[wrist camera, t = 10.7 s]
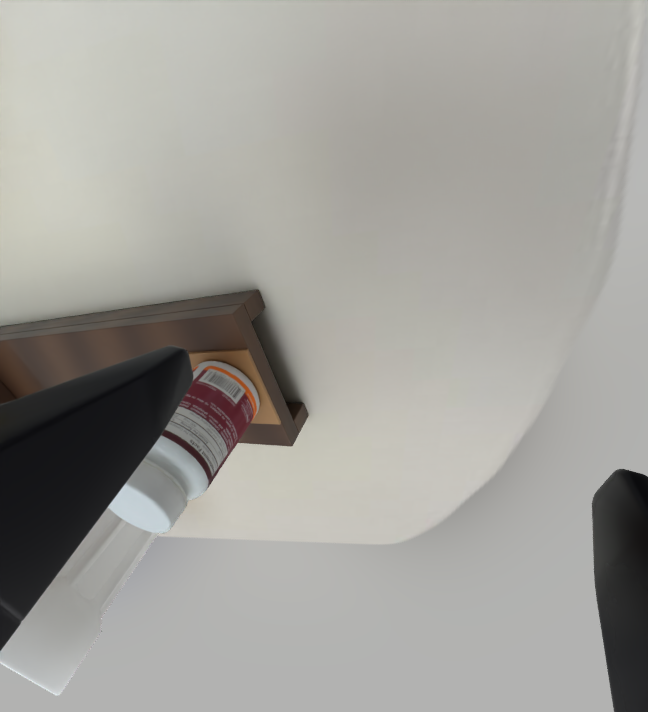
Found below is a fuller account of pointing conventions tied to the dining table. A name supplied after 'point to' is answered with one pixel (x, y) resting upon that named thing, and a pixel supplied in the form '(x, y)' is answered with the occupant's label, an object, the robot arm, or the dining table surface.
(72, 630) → the cup
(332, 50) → the dining table surface
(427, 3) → the dining table surface
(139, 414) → the robot arm
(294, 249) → the dining table surface
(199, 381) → the pill bottle
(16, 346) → the shelf
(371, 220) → the dining table surface
